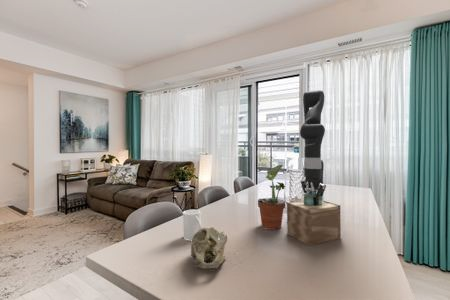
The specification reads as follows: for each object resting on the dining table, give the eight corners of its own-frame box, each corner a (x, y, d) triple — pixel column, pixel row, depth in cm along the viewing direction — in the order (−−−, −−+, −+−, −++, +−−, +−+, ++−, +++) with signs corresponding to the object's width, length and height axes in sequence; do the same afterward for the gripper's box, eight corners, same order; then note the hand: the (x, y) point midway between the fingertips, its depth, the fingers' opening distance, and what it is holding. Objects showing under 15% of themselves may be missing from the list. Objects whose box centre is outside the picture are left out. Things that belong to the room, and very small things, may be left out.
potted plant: (292, 226, 115) (292, 159, 115) (274, 233, 106) (273, 161, 105) (269, 218, 127) (268, 158, 127) (251, 225, 118) (250, 159, 117)
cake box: (287, 233, 106) (286, 202, 106) (317, 227, 113) (316, 198, 113) (308, 245, 93) (308, 210, 93) (340, 238, 100) (340, 205, 100)
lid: (289, 205, 106) (288, 192, 106) (314, 201, 112) (314, 189, 112) (310, 213, 93) (310, 198, 93) (338, 208, 99) (338, 194, 99)
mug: (207, 240, 99) (207, 214, 99) (189, 245, 94) (189, 217, 94) (196, 232, 109) (196, 208, 109) (180, 236, 104) (179, 211, 104)
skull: (235, 278, 76) (193, 282, 69) (214, 247, 94) (180, 248, 88) (241, 247, 75) (199, 248, 69) (219, 221, 93) (185, 221, 87)
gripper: (295, 166, 107) (296, 201, 108) (318, 169, 94) (318, 209, 95) (307, 165, 110) (308, 200, 110) (331, 168, 97) (331, 207, 97)
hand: (312, 204), depth 103 cm, fingers closed on lid, 3 cm apart
